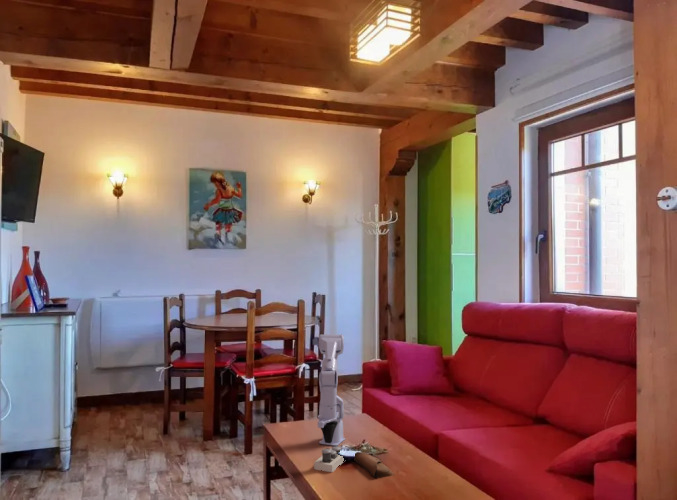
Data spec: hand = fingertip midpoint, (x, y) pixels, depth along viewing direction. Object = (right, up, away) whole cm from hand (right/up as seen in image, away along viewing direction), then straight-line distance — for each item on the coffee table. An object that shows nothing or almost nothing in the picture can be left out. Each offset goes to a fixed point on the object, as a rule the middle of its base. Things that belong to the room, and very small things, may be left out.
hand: (328, 442), depth 195 cm
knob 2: (+3, -8, +7) cm, 11 cm away
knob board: (+1, -9, +3) cm, 9 cm away
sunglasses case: (+16, -9, -1) cm, 19 cm away
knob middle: (+1, -8, +3) cm, 9 cm away
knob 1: (-1, -6, -1) cm, 6 cm away
